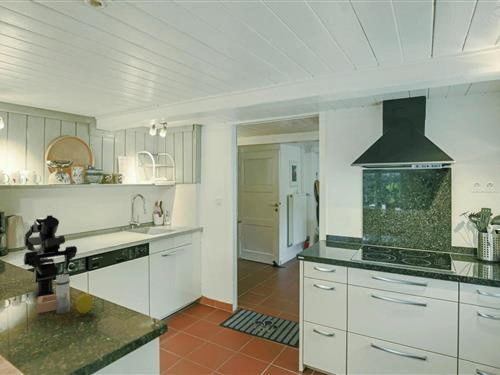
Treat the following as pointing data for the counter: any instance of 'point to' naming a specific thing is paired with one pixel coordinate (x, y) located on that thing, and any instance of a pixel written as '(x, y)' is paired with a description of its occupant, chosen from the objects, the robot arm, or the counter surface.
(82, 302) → the lemon
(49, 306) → the terracotta collar
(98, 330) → the counter surface
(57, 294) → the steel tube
